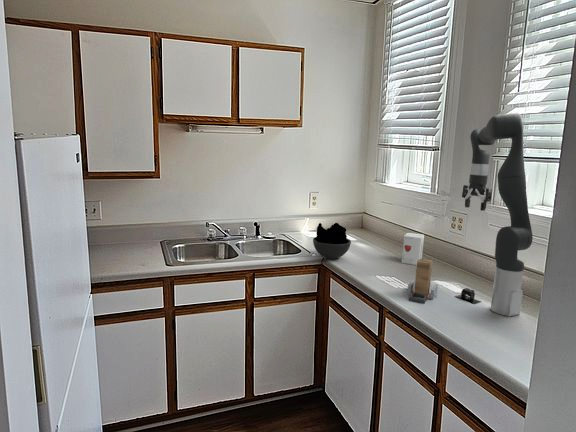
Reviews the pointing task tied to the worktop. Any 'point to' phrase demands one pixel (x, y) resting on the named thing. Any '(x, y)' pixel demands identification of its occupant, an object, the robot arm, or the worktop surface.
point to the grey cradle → (430, 295)
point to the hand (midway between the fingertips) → (474, 208)
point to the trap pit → (418, 298)
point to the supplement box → (412, 248)
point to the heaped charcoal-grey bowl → (331, 241)
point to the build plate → (466, 298)
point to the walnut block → (423, 276)
